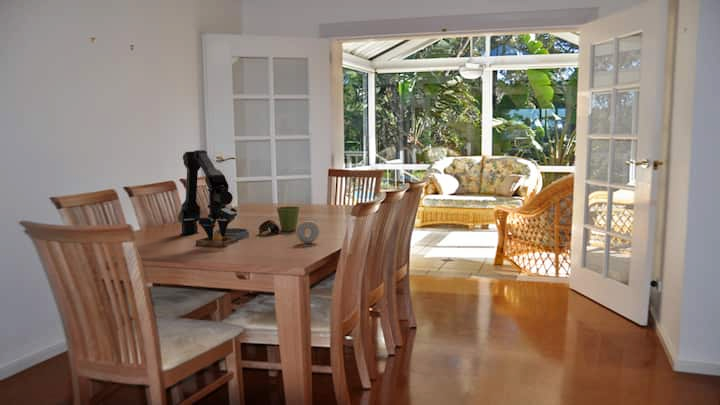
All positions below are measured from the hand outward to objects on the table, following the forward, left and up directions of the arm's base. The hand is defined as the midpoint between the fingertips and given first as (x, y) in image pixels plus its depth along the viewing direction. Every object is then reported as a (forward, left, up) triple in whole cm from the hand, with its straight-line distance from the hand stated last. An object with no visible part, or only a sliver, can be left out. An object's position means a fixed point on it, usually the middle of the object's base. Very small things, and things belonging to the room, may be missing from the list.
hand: (217, 238), depth 258 cm
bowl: (-2, +15, -2) cm, 15 cm away
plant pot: (+13, +43, -3) cm, 45 cm away
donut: (+36, +15, -3) cm, 39 cm away
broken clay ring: (+11, +29, -3) cm, 31 cm away
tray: (0, 0, -2) cm, 2 cm away
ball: (0, 0, -2) cm, 2 cm away
